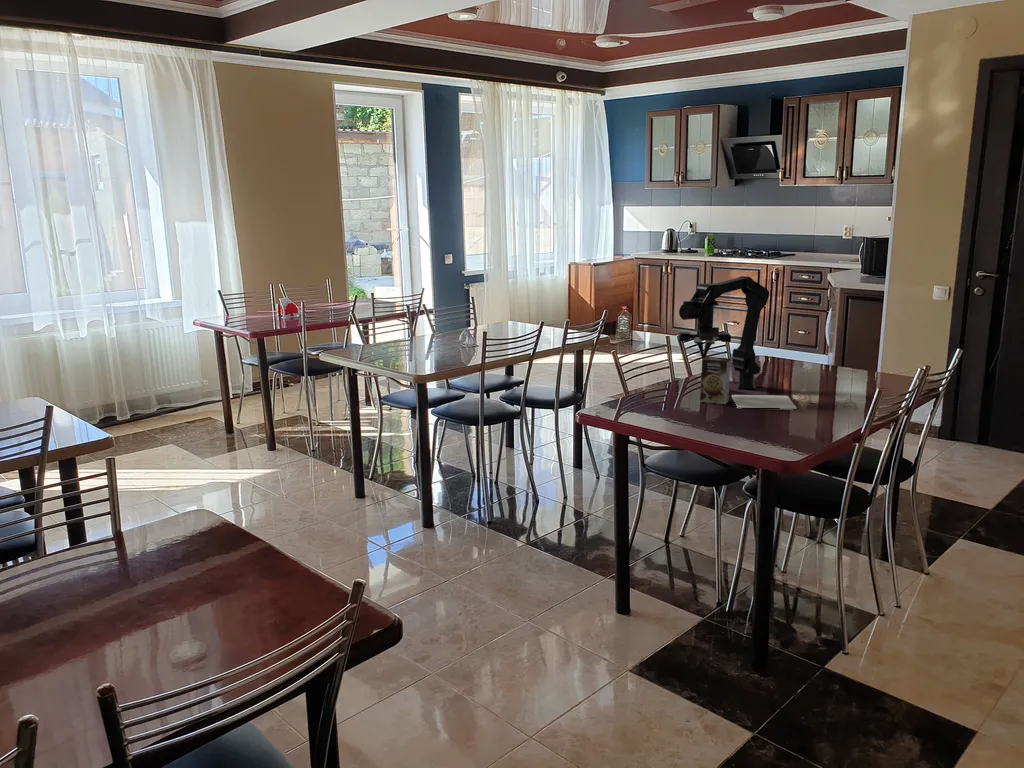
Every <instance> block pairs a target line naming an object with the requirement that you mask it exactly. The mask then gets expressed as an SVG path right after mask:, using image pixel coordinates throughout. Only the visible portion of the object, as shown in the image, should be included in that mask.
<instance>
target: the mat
mask: <svg viewBox="0 0 1024 768" xmlns="http://www.w3.org/2000/svg"><path fill="white" fill-rule="evenodd" d="M731 398H732V401H733V402H735V403H734V405H735V404H736V405H735V406H737V407H736V409H742V408H780V409H779V410H793V409H797V406H796V405H795V404H794V402H793V400H791V398H790V397H789V396H788V395H765V394H764V395H763V394H761V395H760V394H731Z"/></svg>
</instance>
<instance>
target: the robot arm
mask: <svg viewBox="0 0 1024 768" xmlns="http://www.w3.org/2000/svg"><path fill="white" fill-rule="evenodd" d="M737 290H740V291H741V293H742V294H744V295H745V299H744V300H745V304H746V309H747V310H746V316H745V320H744V324H743V329H742V335H741V338H740V339H741V340H740V343H739V346H738V347H737V348H733V350H732V355H731V357H730V359H731V364H732V366H733V368H734V371H735V372H738V384H736V387H737V388H738V389H739V390H756V386H755V375H757V374H760V371H761V367H760V365H759V364H758V363H757V362H756V352H755V349H754V344H755V340H756V336H757V330H758V325H759V322H760V321H759V320H760V318H761V312H762V310H763V309H764V308H765V306H766V305H767V303H768V301H769V297H770V291H769V290H768V288H767V287H765V286H763V285H762V284H760V283H759V282H757V281H755V280H754V279H753V278H752V277H751V276H745V275H741V276H739V277H735V278H732V279H728V280H723V281H721V282H716V283H710V282H709V283H700V284H698V285H697V287H696V290H695V291H694V293H693V295H692V296H691V298H690V300H683V302H682V305H681V306H680V307H679V309H678V315H679V317H680V318H681V320H683V321H687V320H697V321H696V334H695V333H691V332H690V331H679V333H678V338H677V339H678V341H679V342H689V341H690V340H693V343H694V344H696V345H697V347H698V349H699V353H700V357H701V360H702V359H703V358H705V357H707V356H708V355H707V354H708V352H709V350H710V348H711V346H712V345H715V344H716V342H715V340H719V341H721V342H722V343H731V342H732V335H731V334H730V333H729V332H720V327H716V326H714V313H715V311H714V310H715V309H714V308H715V307H717V306H720V305H719V303H718V302H717V301H716V299H718V298H720V297H721V296H722V295H723V294H726V293H730V292H733V291H737Z"/></svg>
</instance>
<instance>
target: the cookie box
mask: <svg viewBox="0 0 1024 768" xmlns="http://www.w3.org/2000/svg"><path fill="white" fill-rule="evenodd" d="M731 362H732V359H731V357H730V358H729V357H715V356H706V357H705V358H703V359H702V358H701V378H700V379H701V382H700V383H701V384H700V403H702V402H705V404H712V403H716V405H722V404H724V406H725V405H726V404H727V403H728V402H729V394H730V374H731Z"/></svg>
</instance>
